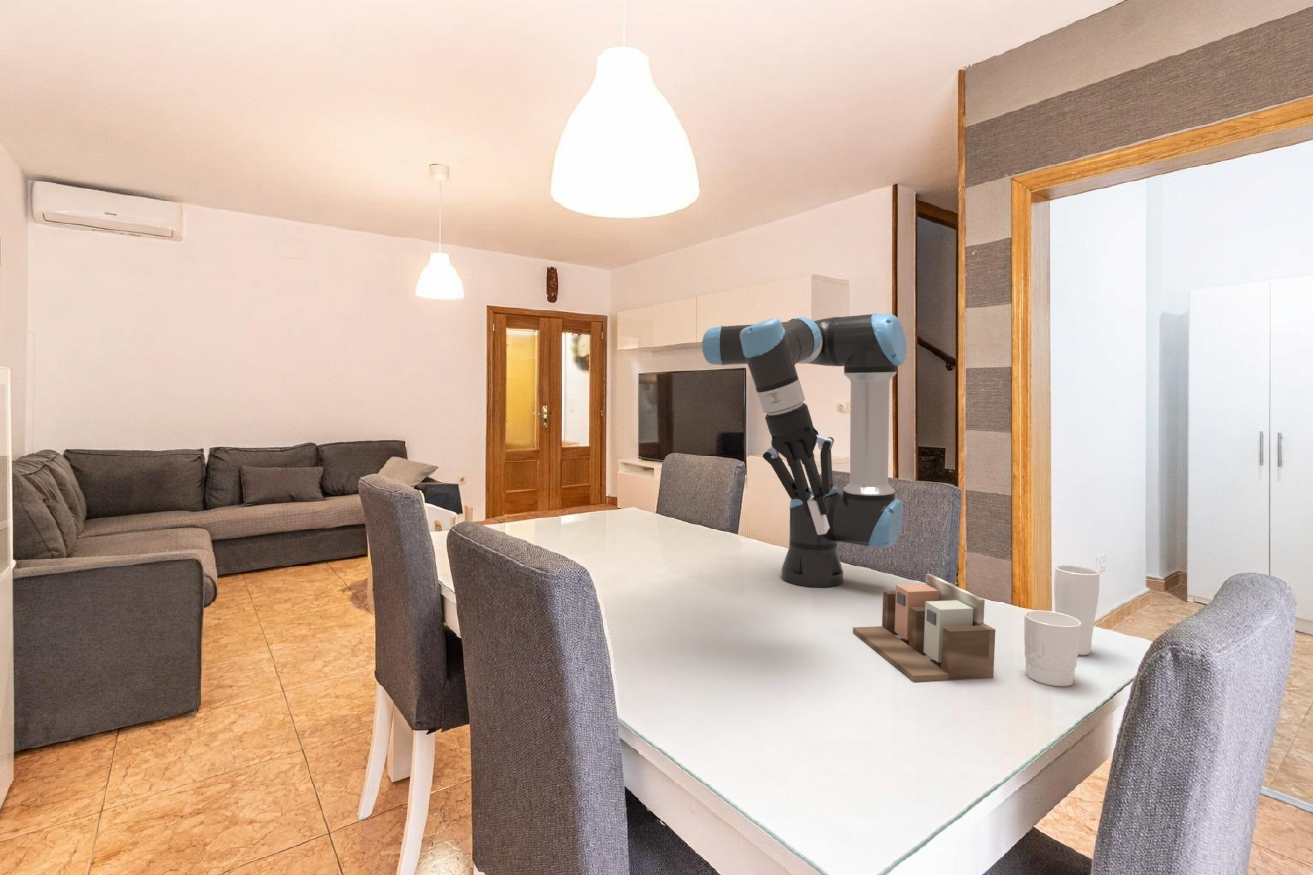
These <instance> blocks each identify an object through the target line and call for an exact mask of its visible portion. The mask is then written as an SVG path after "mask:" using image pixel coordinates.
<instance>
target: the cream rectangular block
mask: <svg viewBox="0 0 1313 875" xmlns="http://www.w3.org/2000/svg"><path fill="white" fill-rule="evenodd" d="M959 626H973V608H971V607H969V606H967V605H966V604H964V603H962V602H960V601H958V600H952V601H925V628H924V653H925V654H927V655H926V656H928V657H930V658H931V659H933V660H934V661H935V662H937V663H941V659H942V633H943V627H959Z"/></svg>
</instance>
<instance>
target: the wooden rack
mask: <svg viewBox="0 0 1313 875" xmlns="http://www.w3.org/2000/svg"><path fill="white" fill-rule="evenodd" d="M925 584H927V585H929V586H931V587H933V588H935V589H936V590H938V591H939V601H952V600H958V601H960V602H962V603H964V604H966V605H967V606H969V607H971V608H973V626H959V627H943V633H942V659H941V662H940V663H941V664H940V667H939V666H938V665H937V664H935V663H934V662H933V661H931V660H929V659H928V658H927V657H926V656H928V655H927V654H925V653H924V628H925V607H912V608H910V633H909V640H908V644H907V643H906V642H905V641H903V640H902V639H901V638H900V637H897V636H896V635H899V634H897V633H896V632H895V604H896V590H882V613H881V614H882V616H881V617H882V618H881V619H882V620H881V621H882V622H881V625H880V626H878V625H877V626H858V627H857V626H856V627H855V626H854V627H852V634H854V635H855V636H856V637H858V638H859V639H860V640H861V641H862V642H864V644H866V645H867V646H869V647H870V648H871V649H872V650H874V651H875V652H876V653H877V654H879V656H881V657H882V658H883V659H885V660H886V661H887V662H888V663H889V664H890V665H892V666H893V667H894V668H895V669H897V670H898V671H899V672H900V673H902V674H903V675H904V676H905V677H907V678H908V679H909V680H910V681H911V682H913V683H920V682H935V681H936V682H937V681H954V680H971V679H974V680H975V679H991V678H992V679H993V678H994V673H995V672H994V671H995V649H996V648H995V646H996V629H995V628H993V627H992V626H990V625H988V624H986V623H984V620H985V602H986V600H985V599H984V598H982V597H980V596H978V595H976V594H973V593H971V592H969V591H967V590H965V589H963V588H961V587H959V586H957V585H955V584H953V583H951V582H949V581H946V580H944V579H943V578H940V577H939V576H936V575H934V574H932V573H926V574H925ZM899 636H900V635H899Z"/></svg>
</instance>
